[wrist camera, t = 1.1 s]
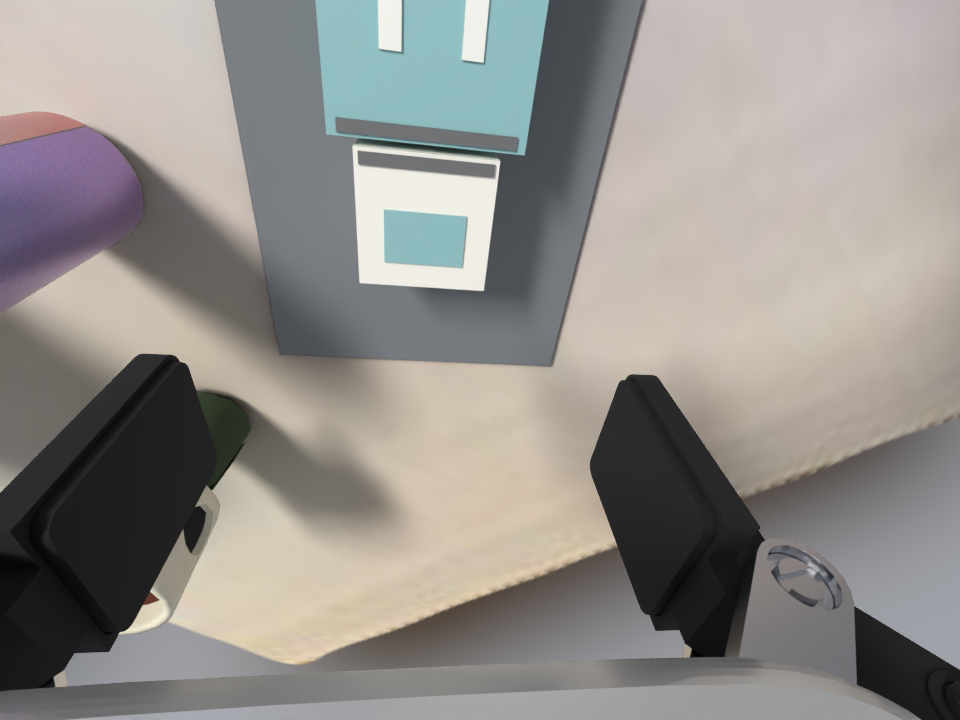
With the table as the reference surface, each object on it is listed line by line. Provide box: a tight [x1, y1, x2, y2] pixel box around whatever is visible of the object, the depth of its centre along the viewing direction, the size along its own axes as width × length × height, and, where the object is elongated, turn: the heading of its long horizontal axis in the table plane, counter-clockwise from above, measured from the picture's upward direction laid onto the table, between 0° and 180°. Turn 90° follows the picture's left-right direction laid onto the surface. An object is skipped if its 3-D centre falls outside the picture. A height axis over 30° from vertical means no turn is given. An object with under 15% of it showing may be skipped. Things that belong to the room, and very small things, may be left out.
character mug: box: [118, 391, 251, 636], centre depth 26 cm, size 11×7×13 cm, turn 150°
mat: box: [214, 0, 642, 366], centre depth 21 cm, size 29×18×1 cm, turn 174°
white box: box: [352, 138, 500, 291], centre depth 21 cm, size 6×6×5 cm
